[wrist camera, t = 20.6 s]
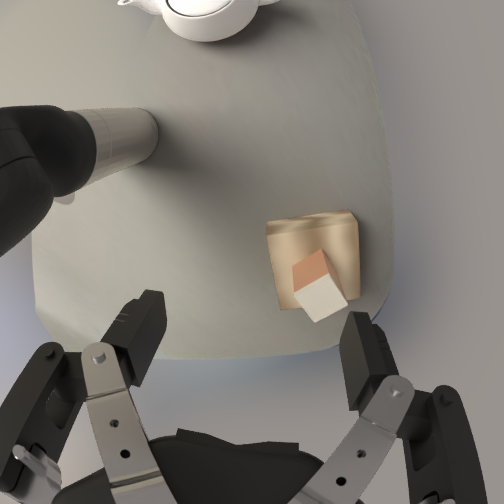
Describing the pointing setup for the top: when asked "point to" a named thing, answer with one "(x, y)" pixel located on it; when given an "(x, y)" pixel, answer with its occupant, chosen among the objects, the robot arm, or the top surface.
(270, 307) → the top surface
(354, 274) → the pine box
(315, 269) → the cube
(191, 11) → the teapot
